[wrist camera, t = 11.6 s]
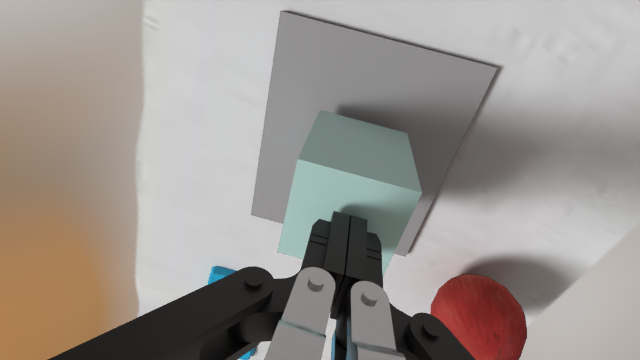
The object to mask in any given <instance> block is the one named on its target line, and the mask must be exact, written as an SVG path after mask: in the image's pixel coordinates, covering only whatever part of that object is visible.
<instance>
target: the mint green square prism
mask: <svg viewBox="0 0 640 360" xmlns="http://www.w3.org/2000/svg"><path fill="white" fill-rule="evenodd" d="M421 194H422V190H421V186H420V182H419V178H418V174H417V170H416V166H415V162H414V158H413V154H412V150H411V146H410V142H409V138H408V134H407V133H404V132H401V131H397V130H393V129H390V128H386V127H382V126H378V125H375V124H371V123H367V122H364V121H360V120H356V119H352V118H349V117H345V116H341V115H338V114H334V113H330V112H327V111H323V110H320V111H319V113H318V115H317V118H316V120H315V122H314V124H313V126H312V128H311V131H310V133H309V135H308V137H307V139H306V142H305V144H304V146H303V148H302V150H301V152H300V155H299V157H298V159H297V164H296V168H295V173H294V178H293V182H292V187H291V191H290V196H289V201H288V205H287V210H286V214H285V219H284V224H283V228H282V233H281V237H280V242H279V247H278V251H277V252H279V253H282V254H286V255H290V256H293V257H297V258H301V259H304V255H305V251H306V248H307V244H308V240H309V236H310V233H311V229H312V225H313V224H314V223H315V222H316V221H317V220H318V219H322V220H326V221H330V220H331V217H332V214H333V211H337V212H341V213H344V214H348V215H350V216H351V215H352V216H356V217H360V218H363V219H367V232H371V233H375V234H377V236H378V238H379V240H380V242H381V246H382V253H381V254H382V273H383V276H384V274H385V271H386V269H387V267H388V265H389V263H390V261H391V258H392V256H393V254H394V252H395V250H396V248H397V246H398V243H399V241H400V239H401V237H402V235H403V233H404V230H405V228H406V226H407V224H408V222H409V220H410V218H411V215H412V213H413V211H414V209H415V207H416V205H417V203H418V200H419V198H420V196H421Z"/></svg>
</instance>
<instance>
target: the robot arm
mask: <svg viewBox="0 0 640 360" xmlns="http://www.w3.org/2000/svg"><path fill="white" fill-rule="evenodd" d="M381 253H382V246H381V242H380V240H379V238H378V236H377V234H375V233H371V232H367V219H363V218H360V217H356V216H352V215H351V216H350V215H348V214H344V213H341V212H337V211H333V214H332V217H331V220H330V221H326V220H322V219H318V220H317V221H316V222H315V223H314V224H313V225H312V229H311V233H310V236H309V240H308V244H307V248H306V251H305V255H304V259H303V263H302V267H301V269H300V271H299V272H298V273H297V274H296V275H294V276H292V277H289V278H285V279H273V277H272V275H271V274H270V273H269V272H268V271H266V270H265V269H263V268H260V267H246V268H243V269H241V270H239V271H236V272H234V273H232V274H230V275H228V276H226V277H224V278H221V279H219V280H217V281H215V282H213V283H211V284H209V285H206V286H204V287H202V288H200V289H198V290H196V291H194V292H191V293H189V294H187V295H185V296H183V297H181V298H179V299H177V300H174V301H172V302H170V303H168V304H166V305H164V306H162V307H159V308H157V309H155V310H153V311H151V312H149V313H147V314H144V315H142V316H140V317H138V318H136V319H134V320H132V321H130V322H127V323H125V324H123V325H121V326H119V327H117V328H115V329H112V330H110V331H108V332H106V333H104V334H102V335H100V336H97V337H95V338H93V339H91V340H89V341H87V342H85V343H82V344H80V345H78V346H76V347H74V348H72V349H70V350H67V351H65V352H63V353H61V354H59V355H57V356H55V357H53V358H50V359H48V360H237V359H239V358H240V357H242V356H243V355H245V354H246V353H247V352H249V351H250V350H252V349H253V348H255V347H256V346H257V345H258V344H259V343H260V342H262V341H271V343H270V346H269V348H268V351H267V354H266V356H265V359H264V360H321V357H322V353H323V348H324V344H325V338H326V335H325V331H326V327H327V322H328V318H329V314H330V318H332V319H336V320H337V321H336V329H335V331H334V334H333V336H332V352H331V360H476V359H475V358H474V357H473V356H472V355H471V354H470V353H469V352H468V350H467V349H466V348H465V347H464V346H463V345H462V344H461V343H460V341H459V340H458V339H457V338H456V337H455V336H454V335H453V334H452V332H451V331H450V330H449V329H448V328H447V327H446V326H445V325H444V323H443V322H442V321H440V320H439V319H438V318H436V317H435V316H433V315H430V314H427V313H417V314H415V315H414V316H413V317H410V316H408V315H407V314H405V313H403V312H401V311H400V310H398V309H396V308H395V307H394V306H393V305H392V304H391V303H390V302H389V298H388V296H387V294H386V292H385V291H384V290H383V273H382V254H381ZM330 311H331V313H330Z"/></svg>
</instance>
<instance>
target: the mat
mask: <svg viewBox="0 0 640 360" xmlns="http://www.w3.org/2000/svg"><path fill="white" fill-rule="evenodd" d="M496 70H497V68H496V67H494V66H490V65H486V64H483V63H479V62H475V61H471V60H467V59H464V58H460V57H456V56H452V55H448V54H445V53H441V52H437V51H433V50H429V49H425V48H422V47H418V46H414V45H410V44H406V43H403V42H399V41H395V40H391V39H387V38H384V37H380V36H376V35H372V34H368V33H365V32H361V31H357V30H353V29H349V28H346V27H342V26H338V25H334V24H330V23H327V22H323V21H319V20H315V19H311V18H308V17H304V16H300V15H296V14H292V13H289V12H285V11H280V17H279V24H278V31H277V38H276V45H275V52H274V59H273V66H272V73H271V80H270V87H269V94H268V100H267V107H266V114H265V121H264V128H263V135H262V142H261V149H260V156H259V163H258V170H257V177H256V184H255V190H254V197H253V204H252V211H251V215H253V216H257V217H260V218H264V219H268V220H271V221H275V222H279V223H283V224H284V219H285V214H286V210H287V205H288V201H289V196H290V191H291V187H292V182H293V178H294V173H295V168H296V164H297V159H298V157H299V155H300V152H301V150H302V148H303V146H304V144H305V142H306V139H307V137H308V135H309V133H310V131H311V128H312V126H313V124H314V122H315V120H316V118H317V115H318V113H319V111H320V110H323V111H327V112H330V113H334V114H338V115H341V116H345V117H349V118H352V119H356V120H360V121H364V122H367V123H371V124H375V125H378V126H382V127H386V128H390V129H393V130H397V131H401V132H404V133H407V134H408V138H409V142H410V146H411V150H412V154H413V158H414V162H415V166H416V170H417V174H418V178H419V182H420V186H421V190H422V194H421V196H420V198H419V200H418V203H417V205H416V207H415V209H414V211H413V213H412V215H411V218H410V220H409V222H408V224H407V226H406V228H405V230H404V233H403V235H402V237H401V239H400V241H399V243H398V246H397V248H396V250H395V252H394V254H398V255H402V256H405V257H406V255H407V253H408V251H409V249H410V247H411V245H412V243H413V240H414V238H415V236H416V234H417V232H418V230H419V228H420V226H421V224H422V222H423V220H424V218H425V216H426V214H427V212H428V210H429V208H430V206H431V204H432V201H433V199H434V197H435V195H436V193H437V191H438V189H439V187H440V185H441V183H442V181H443V179H444V177H445V175H446V173H447V171H448V169H449V167H450V165H451V162H452V160H453V158H454V156H455V154H456V152H457V150H458V148H459V146H460V144H461V142H462V140H463V138H464V136H465V134H466V132H467V130H468V128H469V126H470V123H471V121H472V119H473V117H474V115H475V113H476V111H477V109H478V107H479V105H480V103H481V101H482V99H483V97H484V95H485V93H486V91H487V89H488V87H489V84H490V82H491V80H492V78H493V76H494V74H495V72H496Z"/></svg>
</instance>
